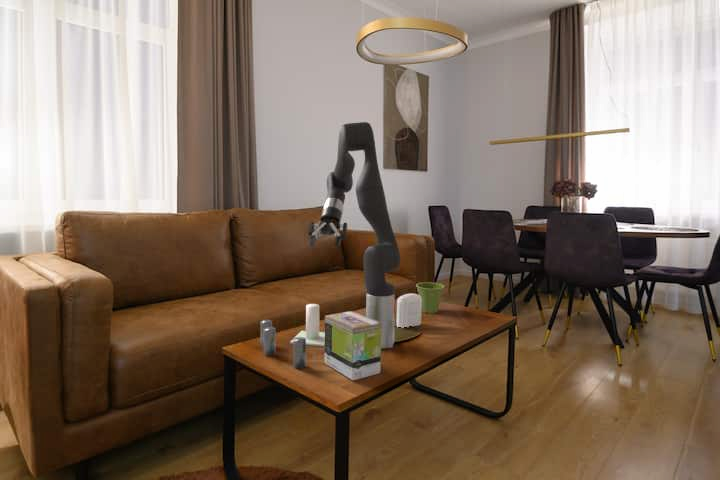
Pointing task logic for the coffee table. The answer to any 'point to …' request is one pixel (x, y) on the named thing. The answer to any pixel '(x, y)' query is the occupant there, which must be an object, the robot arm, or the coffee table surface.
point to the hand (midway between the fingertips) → (324, 246)
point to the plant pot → (430, 296)
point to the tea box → (353, 344)
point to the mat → (314, 342)
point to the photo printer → (409, 310)
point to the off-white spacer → (312, 321)
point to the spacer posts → (270, 344)
